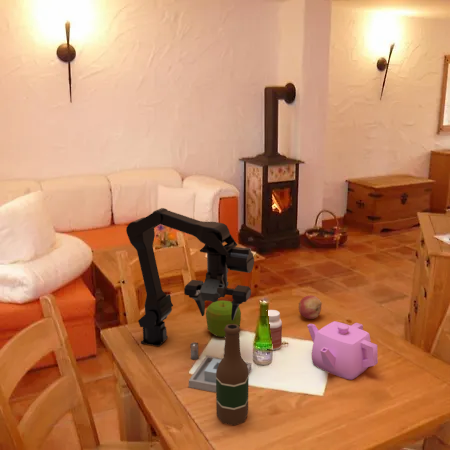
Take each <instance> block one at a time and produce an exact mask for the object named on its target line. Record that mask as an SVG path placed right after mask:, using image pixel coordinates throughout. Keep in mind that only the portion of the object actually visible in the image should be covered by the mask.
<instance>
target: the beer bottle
mask: <svg viewBox="0 0 450 450" xmlns="http://www.w3.org/2000/svg"><path fill="white" fill-rule="evenodd" d="M224 331H225V337H224V347H223V351H224V352H223V357H221V358H222V360H221V361H220V363H219V365H218V368H217V371H216V392H215V396H216V398H215V400H216V401H215V404H216V405H215V406H216V407H215V408H216V416H217V418H218V420H220V422H221V423H222V424H225V425H229V426H236V425H239V424H242V423H245V421H246V419H247V417H248V414H249V376H250V374H249V375H248V367H247V365H246V363H245V362H246V361H245V359H243V357H242V353H241V341H240V332H241V328H240V327H239V326H238V325H236V324H229V325H226V327H225V329H224Z"/></svg>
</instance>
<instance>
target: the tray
mask: <svg viewBox="0 0 450 450" xmlns="http://www.w3.org/2000/svg"><path fill="white" fill-rule="evenodd" d="M213 358H215V359H221V360H222V358H223V357H217V356H211V355H206V356H205V357H204V358H203V359H202V361H201V362H200V364H199V366H197V368H196V369H195V371H194V372H193V373H192V375H191V377H190V378H189V379H188V388H189V389H196V390H201V391H207V392H211V393H216V383H214V382H208V381H205V378H204V371H205V369H206V368H207V366H208V365H209V364H210V362H211V361H212V359H213ZM245 363H246V365H247V367H248V375H249V376H250V374H251V372H252V370H253V369H252V362H247V361H245Z"/></svg>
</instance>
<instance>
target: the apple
mask: <svg viewBox="0 0 450 450" xmlns="http://www.w3.org/2000/svg"><path fill="white" fill-rule="evenodd" d="M231 302H232V301H230V300H218V301H216V302H211V303H210V304H209V305H208V306H207V308H206V309H205V319H206V324H207V325H206V326H207V330H208V332H210V333H211V334H213V335H214V336H215V337H220V338H225V331H224V329H225V327H226V325H229V324H236V325H238V326H239V327H240V325H241V320H242V312H241V309H240V306H239V307H238V309H237V312H236V315H235V317H234V320H232V319H231V314H232V303H231Z"/></svg>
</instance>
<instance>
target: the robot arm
mask: <svg viewBox="0 0 450 450" xmlns="http://www.w3.org/2000/svg"><path fill="white" fill-rule="evenodd" d="M160 225H161V226H164V227H166V228H170V229H174V230H175V231H179V232H182V233H185V234H187V235H191V236H193V237H195V239H196V238H197V240H198V241H200V243H202V244H204V246H203V247H201V249H199V252H200V253H204V254H205V253H206V266H207V267H206V269H207V270H206V271H207V272H206V273H205V279H204V281H203V280H197V279H191V280H190V281H189V282H188V283H187V284H185V286H184V290H183V292H184V295H185V296H188V297H189V298H190V299H192V300H194V301H195V303H196V305H197V307H198V309H199V312H200V314H201V316H202V317H204V316H205V314H206V305H205V304H206V301H207V302H211V303H213V302H216V301H219V299H220V298H225V296H231V297H232V298H231V299H232V301H230V302H231V303H232V314H231V319H232V320H234V317H235V315H236V312H237V309H238V307H239V308H240V305H242V304H244V303H246V302H247V301H248V300H249V298H250V297H251V295H252V289H251V287H250V286H247V285H241V284H237V285H236V286H235V288H231V287H230V288H229V281H228V273H229V270H230V271H233V272H240V273H248V274H249V273H251V272H252V271H253V268H254V264H255V257H254V254H253V252H252V248H251V247H239V246H238V243H237V242H236V240H235V239H234V237H233V235H232V234H231V233H230V229H229V227H228V226H227V224H225V223H222V222H219V221H218V222H217V221H201V220H198V219H195V218H192V217H189V216H186V215H183V214H181V213H177V212H173V211H171V210H168V209H167V208H164V207H161V208H158V209H156V210H154V211H153V212H151V213H150V214H149V215H147V216H144V217H141V218H139V219H135V220H133V221H131V222H130V223H128V225H127V227H126V231H125V232H126V236H127V237H128V240H129V243H130V244H131V246H133V248H134V249H135V250H136V254H137V258H138V262H139V266H140V271H141V275H142V280H143V284H144V288H145V293H146V297H145V302H144V315H142V317H141V318H140V319H138V321H137V322H138V324H139V327H140V328H142V336H143V337H142V338H143V339H142V340H141V341H140V344H143V345H147V346H148V345H149V346H153V347H154V346H155V347H160V346H162V344H163V343H164V342H165V341H166V340H167V339H168V335H167V334H168V333H167V327H166V323H165V320H167V318H168V316H169V315H170V314H171V312H172V310H173V308H172V307H174V304H173V303H172V297H171V294H170V293H169V294H167V293H165V292H164V291H163V288H162V283H161V279H160V274H159V270H158V265H157V260H156V257H155V256H156V255H155V252H154V246H153V245H154V240H155V228H157V227H158V226H160ZM224 243H225V244H224Z"/></svg>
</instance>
